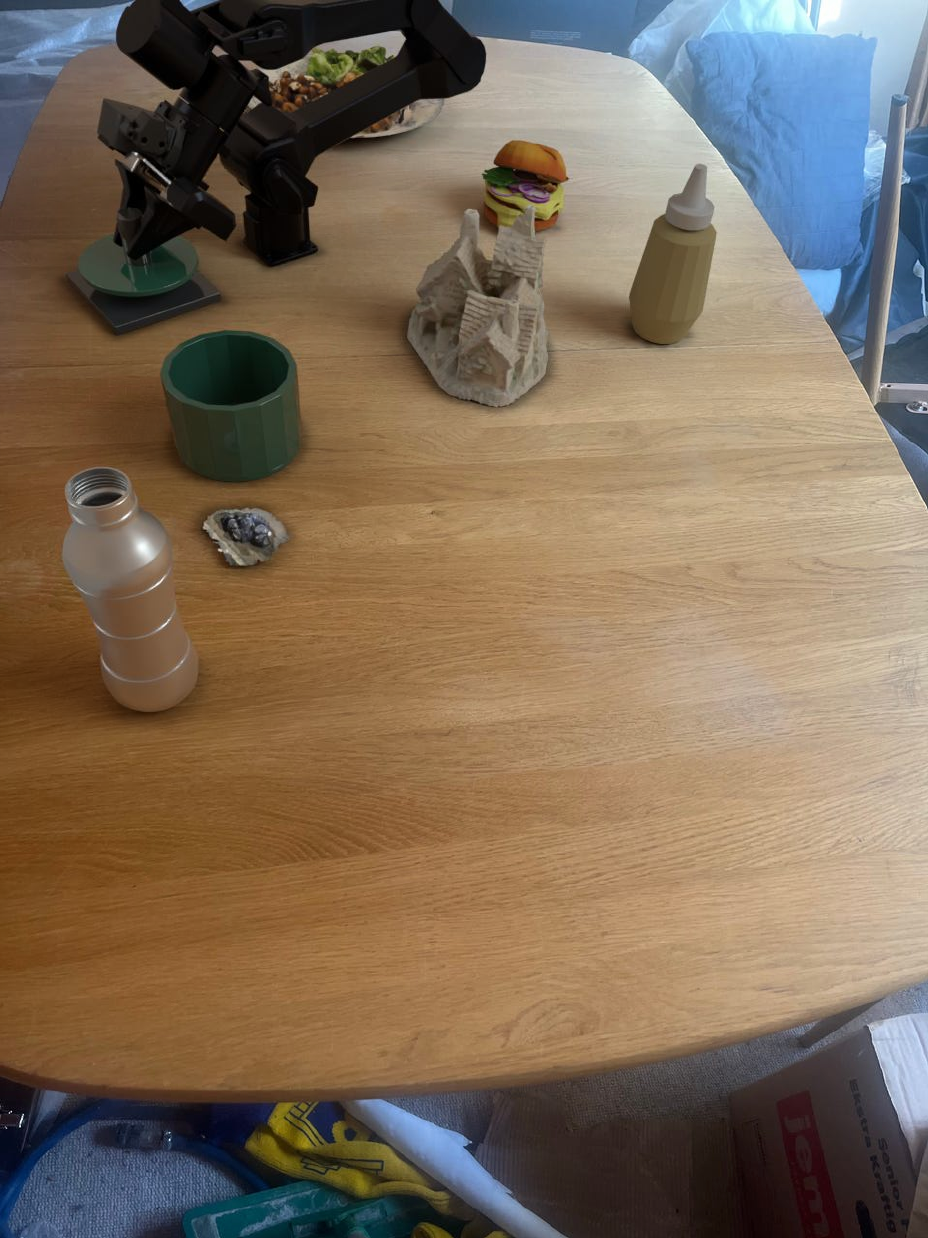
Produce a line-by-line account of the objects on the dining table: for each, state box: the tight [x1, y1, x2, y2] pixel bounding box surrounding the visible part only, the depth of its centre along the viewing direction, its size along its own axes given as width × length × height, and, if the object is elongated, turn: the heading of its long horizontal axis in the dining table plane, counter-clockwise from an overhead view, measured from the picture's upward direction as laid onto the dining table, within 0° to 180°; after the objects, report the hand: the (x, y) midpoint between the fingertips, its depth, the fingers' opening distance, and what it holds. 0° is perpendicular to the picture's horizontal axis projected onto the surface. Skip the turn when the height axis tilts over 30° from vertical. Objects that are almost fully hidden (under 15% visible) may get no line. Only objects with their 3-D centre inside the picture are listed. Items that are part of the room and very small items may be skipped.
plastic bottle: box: [61, 466, 199, 713], centre depth 63 cm, size 6×7×20 cm
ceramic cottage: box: [406, 204, 549, 408], centre depth 95 cm, size 16×16×15 cm
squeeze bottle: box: [628, 163, 718, 345], centre depth 99 cm, size 8×8×18 cm
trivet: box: [64, 268, 222, 336], centre depth 103 cm, size 12×12×1 cm
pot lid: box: [77, 207, 200, 297], centre depth 99 cm, size 12×12×6 cm
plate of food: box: [247, 45, 445, 139], centre depth 133 cm, size 28×28×6 cm
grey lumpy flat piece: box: [202, 507, 292, 567], centre depth 81 cm, size 7×8×2 cm
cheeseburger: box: [481, 139, 570, 232], centre depth 117 cm, size 10×11×10 cm
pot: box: [159, 329, 303, 483], centre depth 86 cm, size 11×11×8 cm
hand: (123, 250), depth 99 cm, fingers closed on pot lid, 3 cm apart
